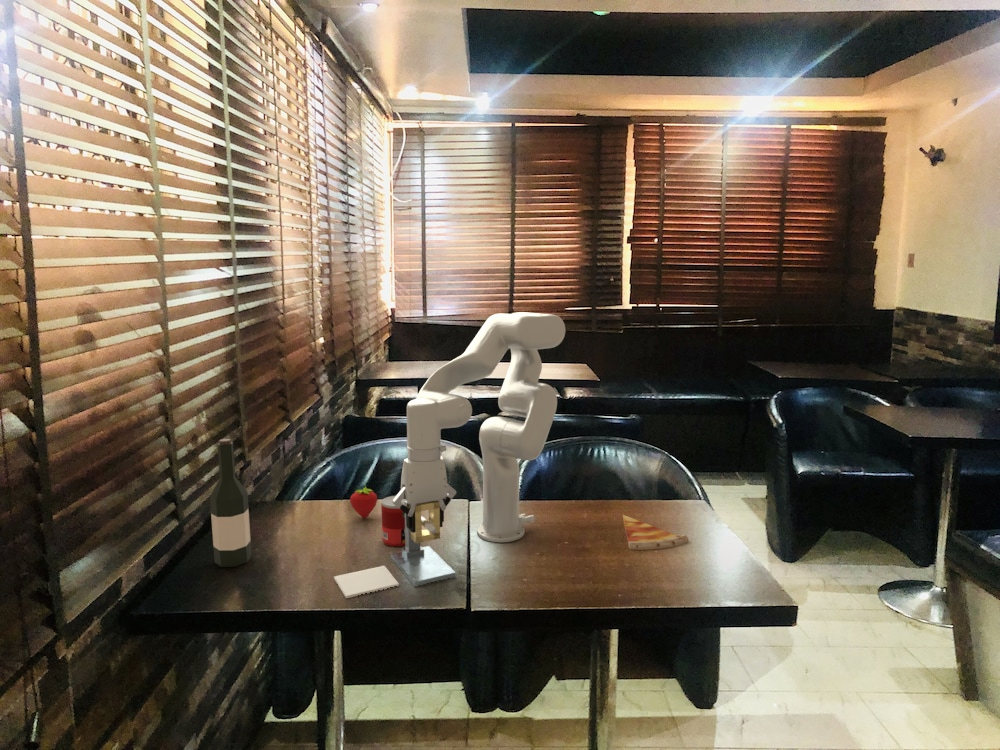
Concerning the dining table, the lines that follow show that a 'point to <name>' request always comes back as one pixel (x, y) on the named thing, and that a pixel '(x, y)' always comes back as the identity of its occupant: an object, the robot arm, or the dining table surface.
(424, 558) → the stand
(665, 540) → the pizza slice
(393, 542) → the canned food
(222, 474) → the wine bottle
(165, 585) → the dining table surface
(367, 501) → the strawberry
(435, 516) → the rectangular frame block
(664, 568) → the dining table surface
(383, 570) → the pad
